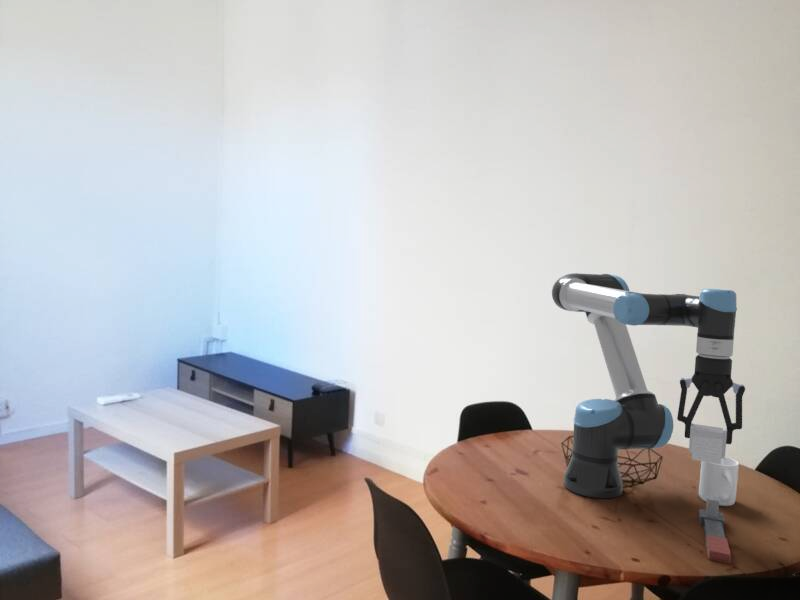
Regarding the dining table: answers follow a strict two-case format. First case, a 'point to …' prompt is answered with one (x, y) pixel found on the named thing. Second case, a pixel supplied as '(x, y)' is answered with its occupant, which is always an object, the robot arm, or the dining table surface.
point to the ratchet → (714, 531)
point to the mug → (719, 481)
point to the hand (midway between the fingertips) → (706, 454)
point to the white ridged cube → (707, 444)
